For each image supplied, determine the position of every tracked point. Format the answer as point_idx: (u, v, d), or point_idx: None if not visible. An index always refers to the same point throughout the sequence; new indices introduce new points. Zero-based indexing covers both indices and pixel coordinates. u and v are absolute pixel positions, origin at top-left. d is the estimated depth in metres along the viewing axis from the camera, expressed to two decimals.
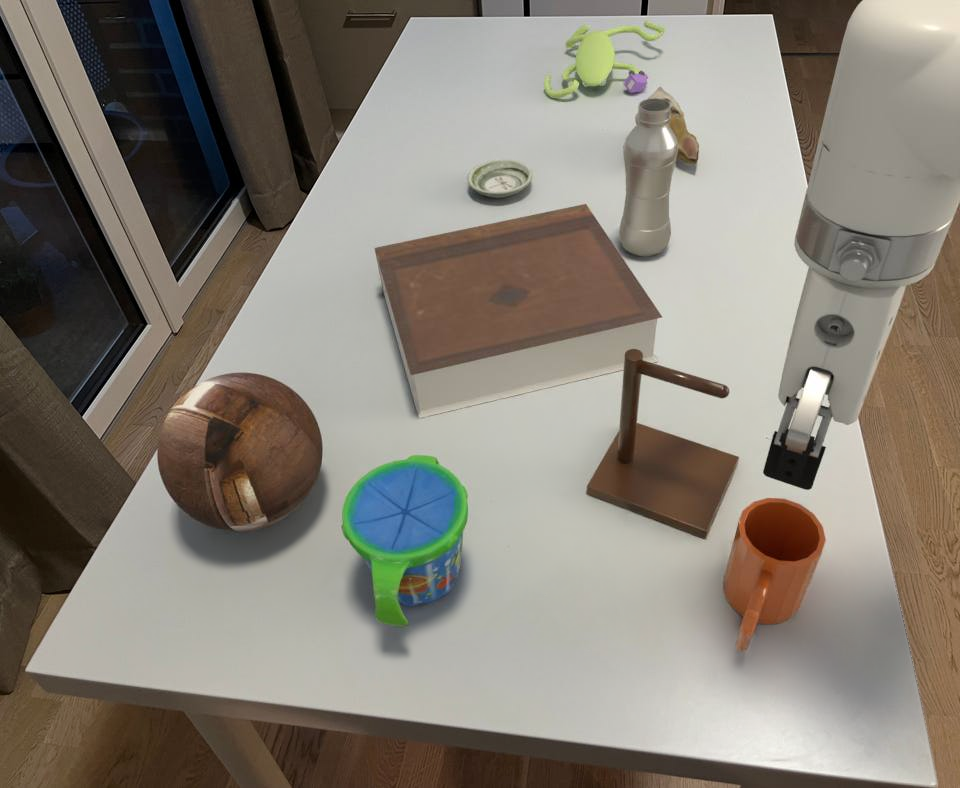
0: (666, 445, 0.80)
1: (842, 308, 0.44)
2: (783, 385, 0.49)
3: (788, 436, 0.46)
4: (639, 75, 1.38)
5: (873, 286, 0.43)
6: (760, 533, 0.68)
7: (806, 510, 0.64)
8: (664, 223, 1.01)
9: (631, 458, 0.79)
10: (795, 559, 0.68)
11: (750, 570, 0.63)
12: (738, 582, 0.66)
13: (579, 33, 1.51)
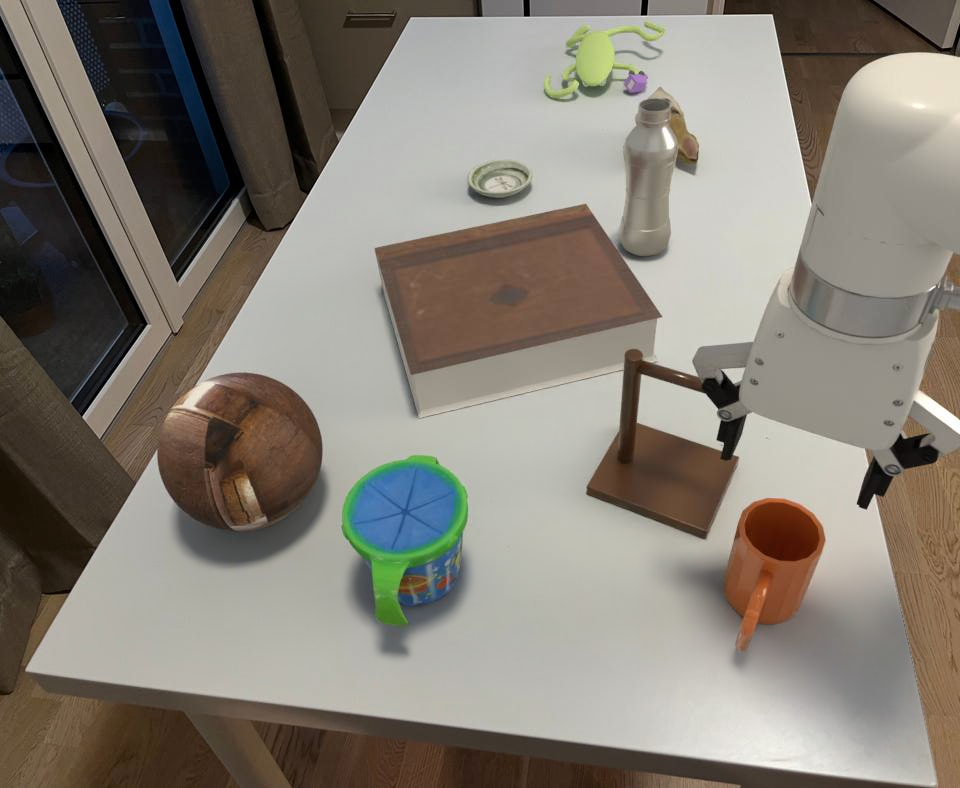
0: (666, 445, 0.80)
1: (933, 336, 0.46)
2: (897, 433, 0.49)
3: None
4: (639, 75, 1.38)
5: None
6: (760, 533, 0.68)
7: (806, 510, 0.64)
8: (664, 223, 1.01)
9: (631, 458, 0.79)
10: (795, 559, 0.68)
11: (750, 570, 0.63)
12: (738, 582, 0.66)
13: (579, 33, 1.51)
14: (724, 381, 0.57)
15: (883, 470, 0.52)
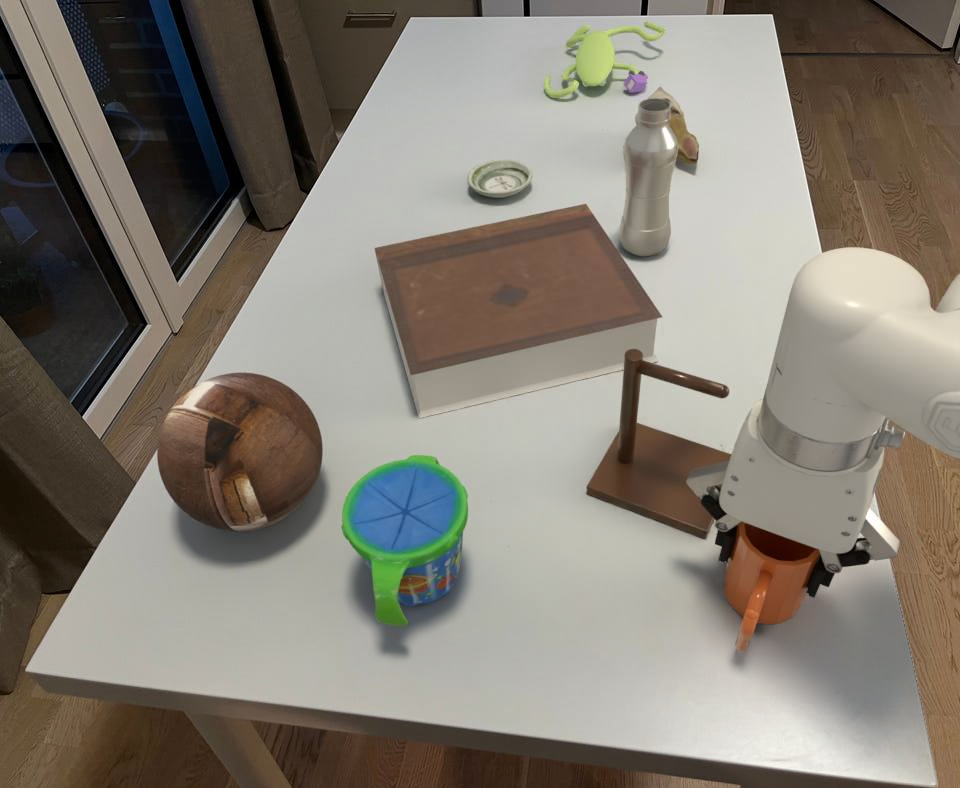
0: (666, 445, 0.80)
1: (880, 465, 0.54)
2: (853, 542, 0.57)
3: (895, 555, 0.58)
4: (639, 75, 1.38)
5: None
6: (760, 533, 0.68)
7: None
8: (664, 223, 1.01)
9: (631, 458, 0.79)
10: (795, 559, 0.68)
11: (750, 570, 0.63)
12: (738, 582, 0.66)
13: (579, 33, 1.51)
14: None
15: (825, 567, 0.61)
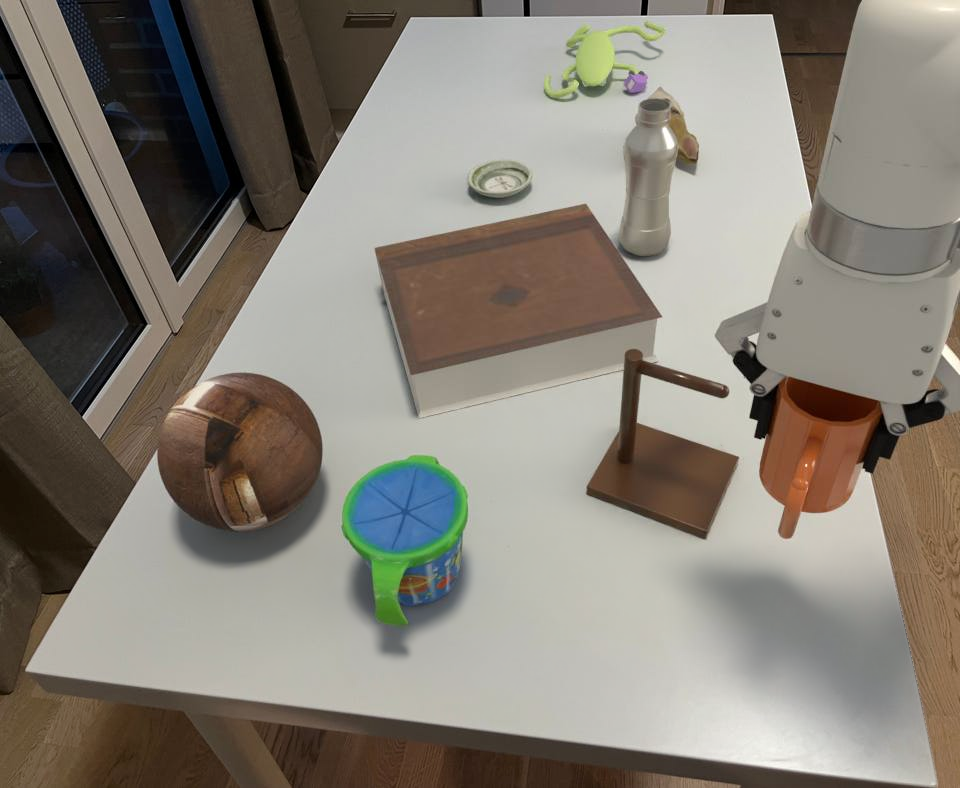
0: (666, 445, 0.80)
1: None
2: (926, 384, 0.46)
3: None
4: (639, 75, 1.38)
5: None
6: (803, 407, 0.57)
7: None
8: (664, 223, 1.01)
9: (631, 458, 0.79)
10: None
11: (794, 440, 0.52)
12: (779, 460, 0.55)
13: (579, 33, 1.51)
14: None
15: (888, 429, 0.50)
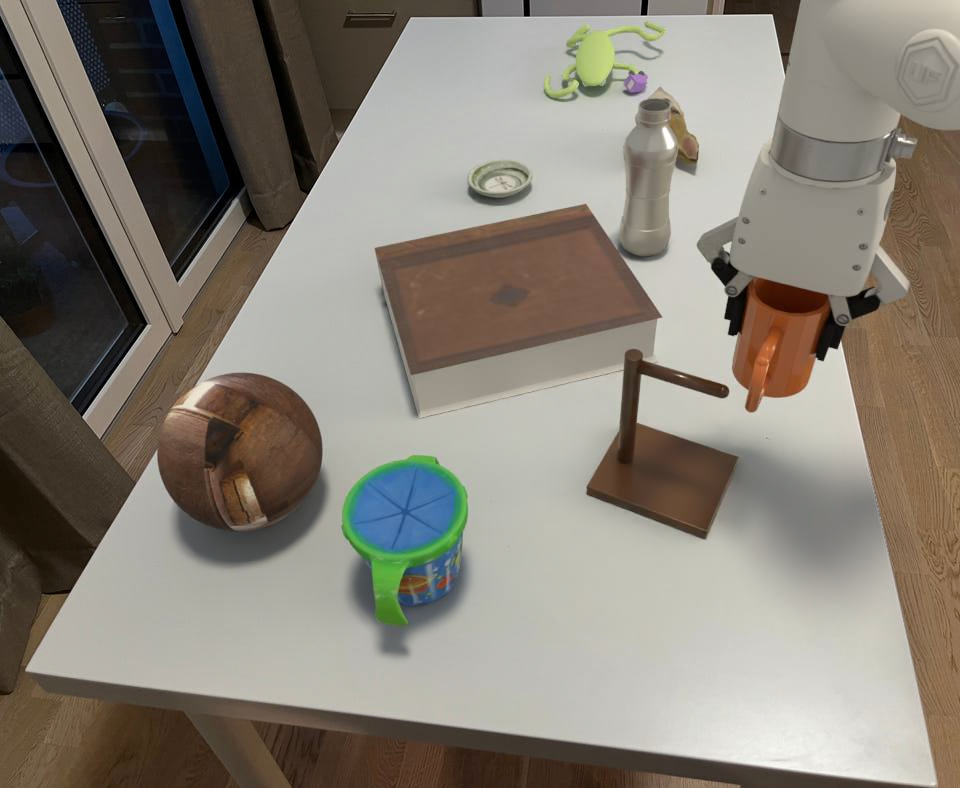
0: (666, 445, 0.80)
1: (891, 185, 0.54)
2: (864, 278, 0.58)
3: (905, 295, 0.58)
4: (639, 75, 1.38)
5: None
6: None
7: None
8: (664, 223, 1.01)
9: (631, 458, 0.79)
10: None
11: (760, 331, 0.64)
12: (748, 351, 0.66)
13: (580, 33, 1.51)
14: (730, 262, 0.65)
15: (835, 321, 0.62)
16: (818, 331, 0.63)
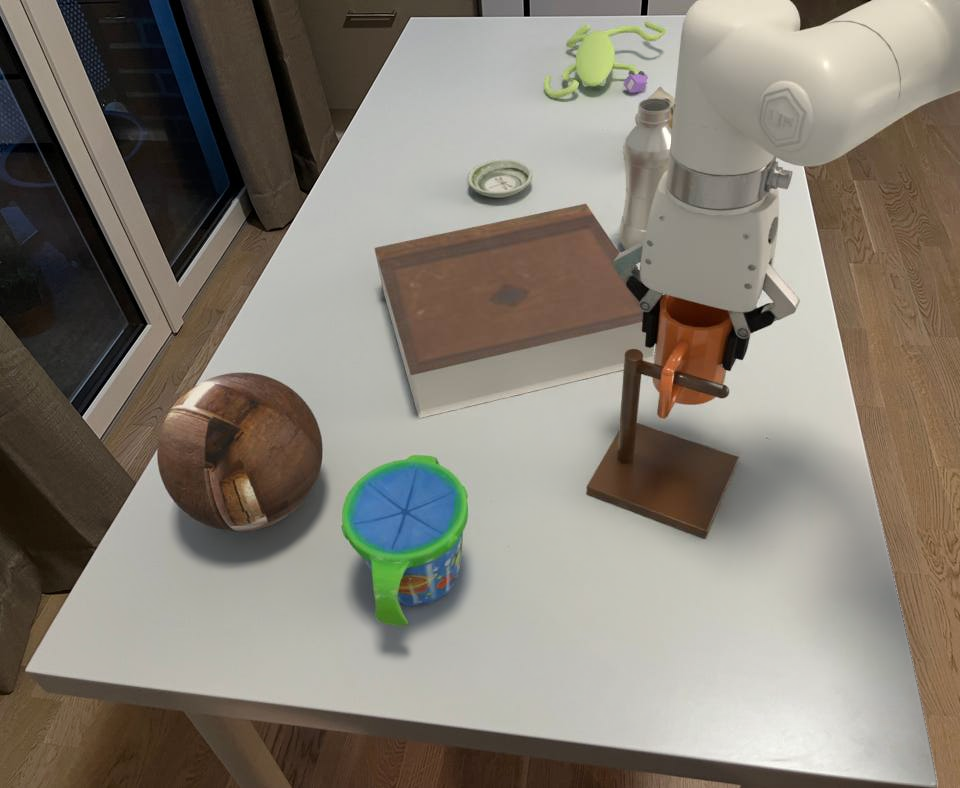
0: (666, 445, 0.80)
1: (774, 212, 0.60)
2: (756, 295, 0.63)
3: (795, 310, 0.64)
4: (639, 75, 1.38)
5: None
6: (684, 324, 0.74)
7: None
8: None
9: (631, 458, 0.79)
10: None
11: (670, 343, 0.69)
12: (662, 362, 0.72)
13: (580, 33, 1.51)
14: None
15: (736, 334, 0.67)
16: (722, 343, 0.68)
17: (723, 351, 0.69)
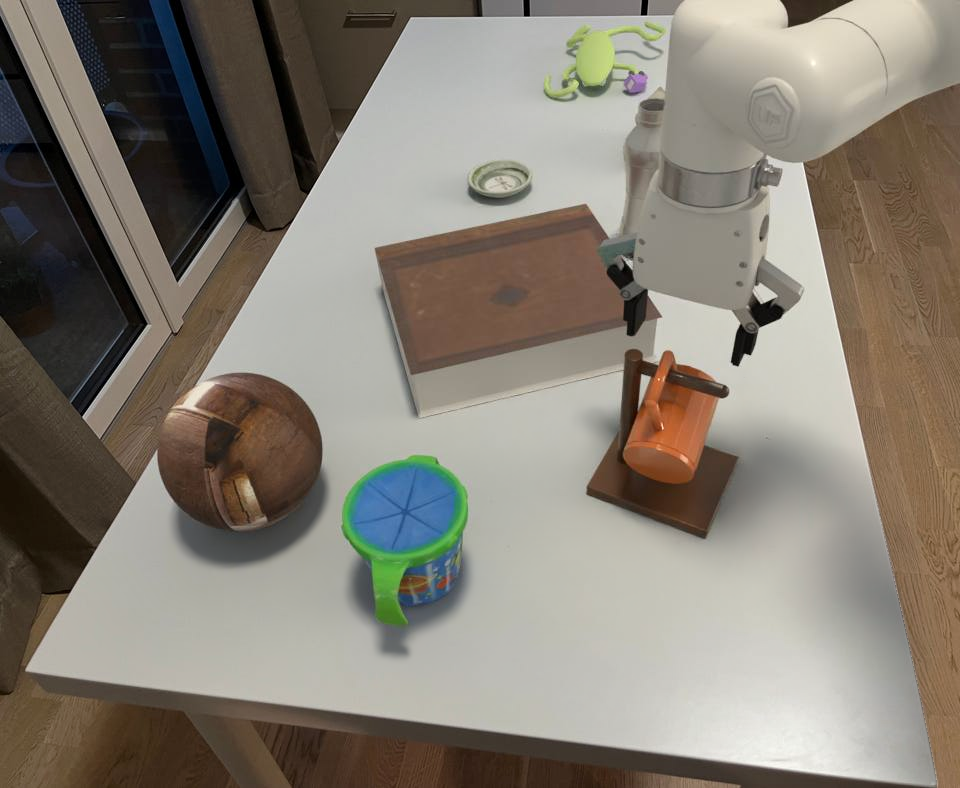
0: None
1: (765, 210, 0.60)
2: (747, 293, 0.63)
3: (800, 298, 0.63)
4: (639, 75, 1.38)
5: None
6: None
7: None
8: None
9: None
10: None
11: None
12: (645, 410, 0.72)
13: (580, 33, 1.51)
14: (625, 268, 0.71)
15: (745, 329, 0.66)
16: (708, 398, 0.72)
17: (706, 410, 0.71)
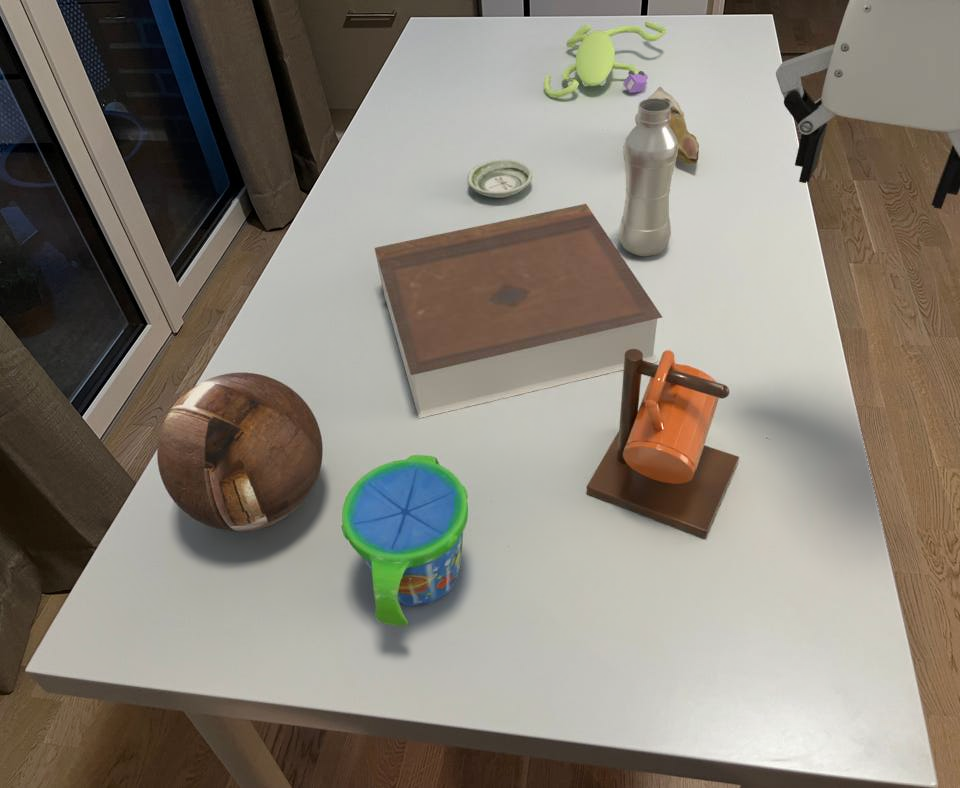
0: None
1: None
2: None
3: None
4: (639, 75, 1.38)
5: None
6: None
7: None
8: (664, 223, 1.01)
9: None
10: None
11: None
12: (645, 410, 0.72)
13: (580, 33, 1.51)
14: (804, 97, 0.61)
15: (959, 157, 0.56)
16: (708, 398, 0.72)
17: (706, 410, 0.71)
